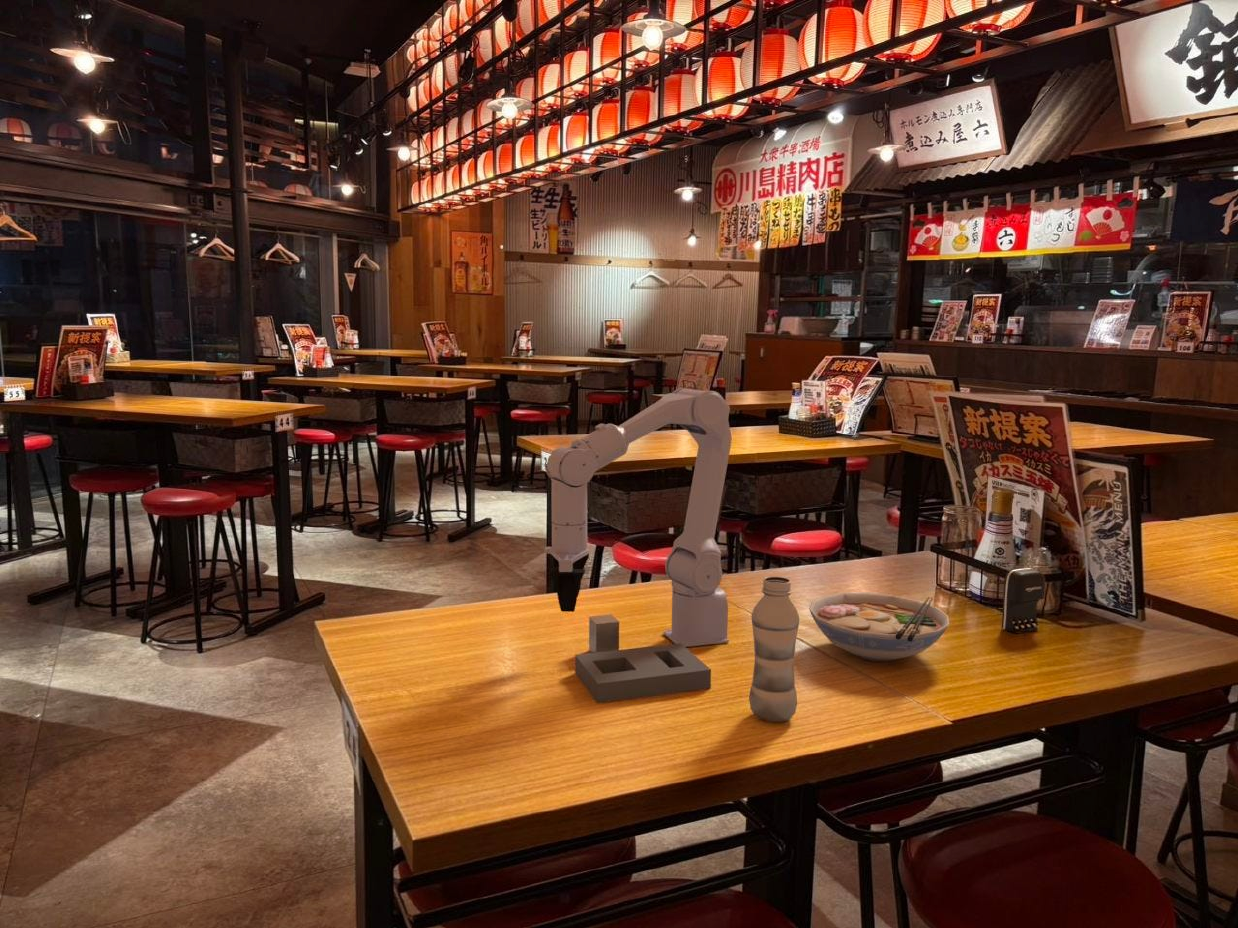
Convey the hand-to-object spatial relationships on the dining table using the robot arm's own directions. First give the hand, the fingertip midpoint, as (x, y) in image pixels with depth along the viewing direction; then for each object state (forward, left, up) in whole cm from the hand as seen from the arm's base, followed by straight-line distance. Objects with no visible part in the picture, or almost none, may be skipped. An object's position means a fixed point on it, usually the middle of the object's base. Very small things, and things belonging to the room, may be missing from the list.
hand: (569, 603), depth 142 cm
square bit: (-6, -2, -10) cm, 12 cm away
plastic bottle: (-21, +29, -10) cm, 38 cm away
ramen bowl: (-50, +12, -10) cm, 53 cm away
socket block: (-8, +11, -10) cm, 17 cm away
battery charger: (-83, +10, -10) cm, 85 cm away
